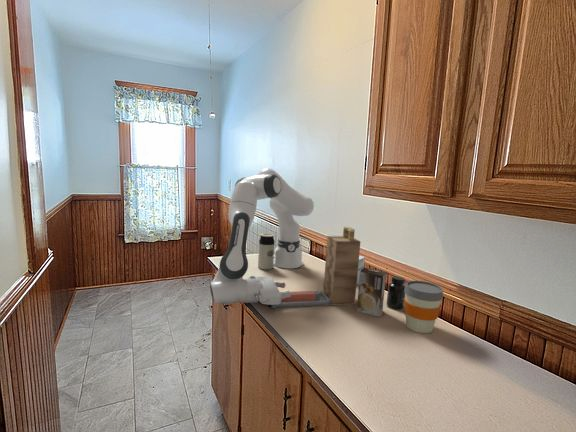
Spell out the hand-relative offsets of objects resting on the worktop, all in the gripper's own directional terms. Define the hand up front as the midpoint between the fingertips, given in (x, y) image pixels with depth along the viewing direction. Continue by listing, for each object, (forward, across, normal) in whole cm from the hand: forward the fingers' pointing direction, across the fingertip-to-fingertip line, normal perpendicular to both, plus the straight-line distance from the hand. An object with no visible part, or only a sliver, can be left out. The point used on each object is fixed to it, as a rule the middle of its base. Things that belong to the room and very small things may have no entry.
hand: (287, 289), depth 130 cm
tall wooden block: (+22, 0, +5) cm, 23 cm away
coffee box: (+30, -12, +6) cm, 33 cm away
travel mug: (-1, +44, +6) cm, 44 cm away
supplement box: (+38, +20, +6) cm, 43 cm away
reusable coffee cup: (+42, -26, +6) cm, 50 cm away
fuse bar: (+4, 0, +5) cm, 6 cm away
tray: (+5, 0, +5) cm, 7 cm away
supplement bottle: (+43, -9, +6) cm, 44 cm away
